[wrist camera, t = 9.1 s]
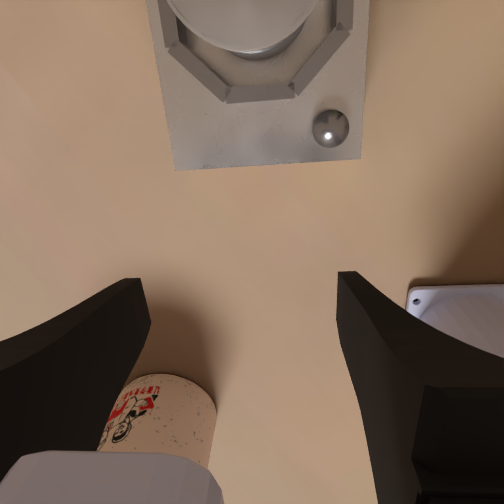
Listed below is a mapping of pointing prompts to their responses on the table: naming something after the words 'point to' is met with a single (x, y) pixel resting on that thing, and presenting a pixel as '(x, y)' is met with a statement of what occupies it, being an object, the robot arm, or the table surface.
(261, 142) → the square base socket
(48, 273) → the table surface
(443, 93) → the table surface
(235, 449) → the table surface
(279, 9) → the cup
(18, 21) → the table surface
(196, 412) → the teacup with lid
